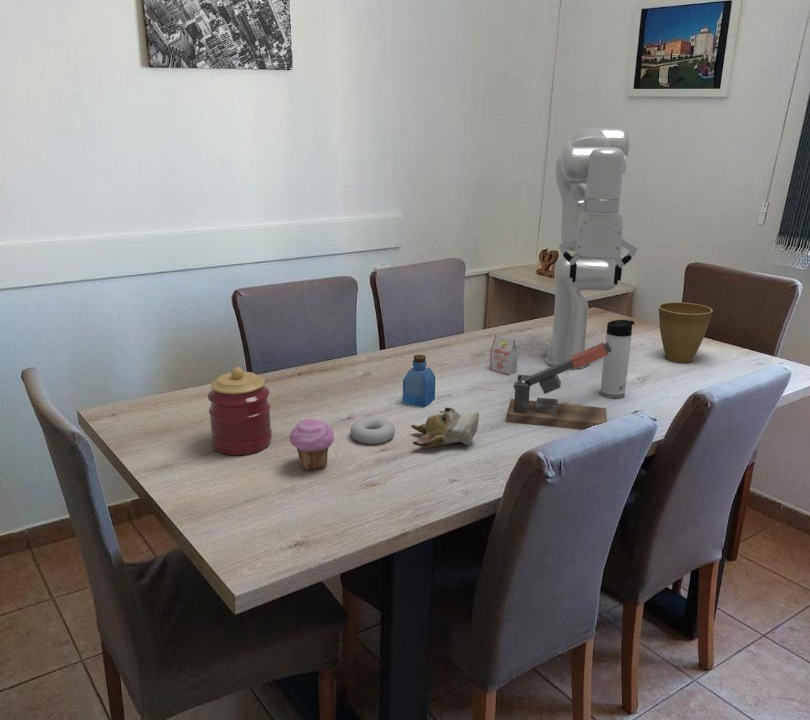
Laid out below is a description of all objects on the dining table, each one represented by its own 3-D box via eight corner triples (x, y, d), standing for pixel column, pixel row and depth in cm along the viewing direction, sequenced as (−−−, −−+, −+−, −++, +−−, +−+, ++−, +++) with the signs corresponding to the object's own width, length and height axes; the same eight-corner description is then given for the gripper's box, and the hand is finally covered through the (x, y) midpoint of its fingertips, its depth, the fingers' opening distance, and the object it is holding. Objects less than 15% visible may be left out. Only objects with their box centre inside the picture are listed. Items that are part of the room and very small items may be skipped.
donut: (365, 451, 154) (403, 439, 160) (364, 437, 153) (403, 425, 158) (342, 435, 162) (379, 424, 167) (341, 421, 161) (379, 410, 166)
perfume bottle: (434, 399, 183) (436, 354, 179) (425, 407, 177) (426, 362, 173) (412, 395, 185) (413, 351, 181) (402, 403, 180) (403, 358, 176)
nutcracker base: (506, 421, 169) (508, 386, 167) (510, 406, 179) (512, 372, 176) (606, 432, 164) (610, 395, 161) (605, 415, 173) (609, 380, 171)
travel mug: (626, 399, 184) (635, 324, 177) (600, 397, 185) (608, 323, 178) (624, 391, 189) (633, 318, 183) (599, 389, 191) (606, 316, 184)
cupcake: (297, 478, 142) (295, 432, 138) (286, 460, 149) (284, 416, 146) (340, 470, 145) (339, 425, 142) (327, 453, 153) (326, 409, 149)
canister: (242, 462, 148) (237, 382, 143) (198, 447, 155) (191, 370, 149) (284, 439, 159) (280, 364, 153) (241, 426, 165) (236, 354, 160)
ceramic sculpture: (482, 415, 151) (411, 419, 150) (482, 452, 153) (413, 456, 153) (476, 397, 161) (409, 401, 161) (476, 432, 163) (411, 436, 163)
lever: (521, 404, 170) (512, 386, 169) (523, 397, 174) (514, 379, 173) (617, 364, 162) (607, 345, 161) (616, 358, 166) (607, 339, 165)
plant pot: (709, 356, 218) (717, 305, 213) (699, 370, 206) (707, 316, 201) (659, 348, 225) (665, 299, 220) (646, 361, 213) (653, 309, 208)
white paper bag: (497, 366, 207) (499, 333, 204) (516, 372, 203) (518, 338, 199) (489, 369, 205) (491, 336, 201) (508, 375, 200) (510, 341, 197)
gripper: (561, 207, 158) (555, 283, 163) (643, 209, 154) (634, 288, 160) (562, 203, 165) (556, 277, 170) (640, 206, 161) (632, 281, 166)
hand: (594, 282), depth 165 cm, fingers open, 9 cm apart
